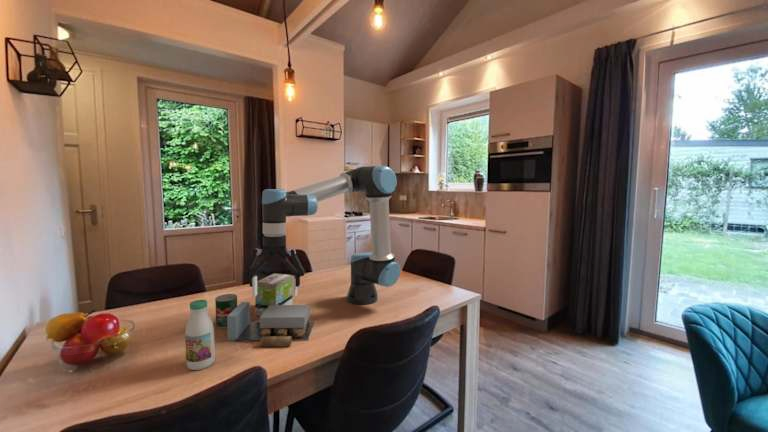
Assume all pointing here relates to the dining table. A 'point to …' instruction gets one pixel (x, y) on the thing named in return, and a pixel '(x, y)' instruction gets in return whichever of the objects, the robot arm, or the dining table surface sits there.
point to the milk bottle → (199, 337)
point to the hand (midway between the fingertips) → (275, 295)
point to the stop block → (238, 320)
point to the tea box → (273, 292)
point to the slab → (285, 316)
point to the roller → (276, 341)
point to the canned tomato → (224, 308)
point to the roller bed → (274, 332)
